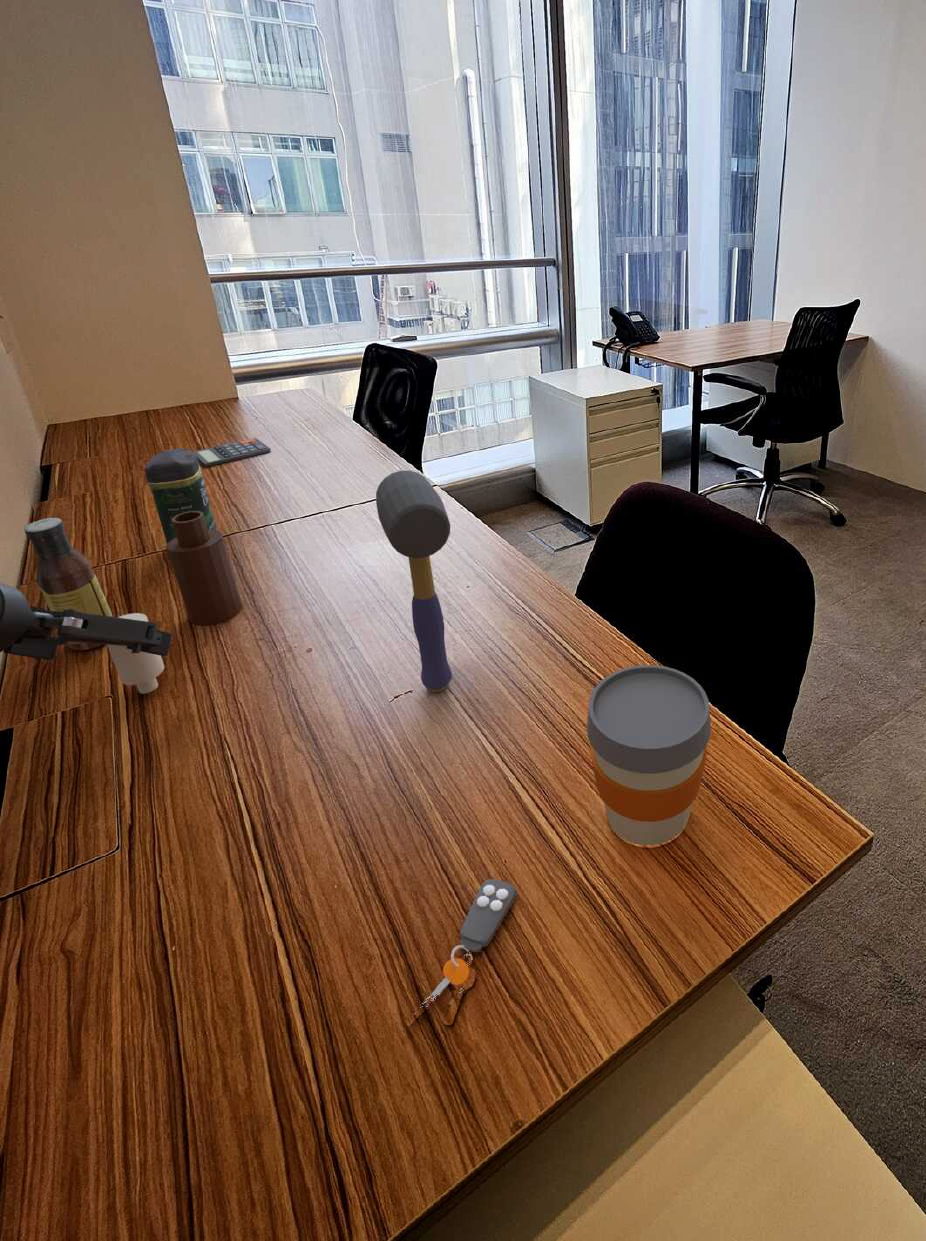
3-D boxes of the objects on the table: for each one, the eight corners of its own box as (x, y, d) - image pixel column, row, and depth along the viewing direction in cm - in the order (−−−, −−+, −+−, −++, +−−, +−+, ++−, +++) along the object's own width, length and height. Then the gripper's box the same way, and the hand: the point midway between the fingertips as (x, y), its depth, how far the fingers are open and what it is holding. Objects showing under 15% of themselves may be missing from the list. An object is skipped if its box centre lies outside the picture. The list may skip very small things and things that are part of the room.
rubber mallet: (476, 706, 88) (451, 497, 76) (418, 724, 85) (381, 510, 73) (455, 652, 98) (429, 461, 86) (402, 667, 95) (367, 471, 83)
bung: (118, 701, 89) (92, 635, 85) (140, 677, 93) (117, 613, 89) (156, 699, 89) (132, 634, 85) (176, 675, 94) (154, 612, 89)
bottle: (180, 626, 104) (147, 528, 97) (204, 600, 111) (175, 507, 104) (228, 624, 105) (199, 527, 98) (250, 599, 111) (224, 505, 104)
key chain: (484, 883, 66) (483, 873, 65) (519, 894, 65) (518, 883, 64) (405, 1028, 54) (403, 1017, 54) (446, 1043, 53) (444, 1032, 53)
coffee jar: (216, 553, 125) (189, 460, 118) (166, 561, 122) (135, 466, 115) (223, 531, 133) (198, 442, 126) (176, 538, 130) (148, 448, 123)
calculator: (270, 448, 173) (204, 463, 163) (271, 451, 173) (205, 466, 164) (255, 437, 181) (191, 451, 171) (256, 440, 181) (192, 454, 171)
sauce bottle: (89, 627, 104) (43, 511, 96) (129, 628, 104) (86, 512, 96) (54, 654, 98) (1, 532, 90) (96, 655, 98) (47, 533, 90)
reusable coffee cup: (724, 846, 69) (732, 734, 63) (605, 878, 66) (602, 764, 60) (682, 756, 80) (686, 654, 74) (579, 780, 77) (574, 675, 71)
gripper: (-198, 659, 63) (-4, 681, 82) (83, 649, 64) (207, 673, 84) (-167, 580, 65) (14, 620, 85) (102, 572, 67) (218, 613, 86)
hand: (110, 646), depth 84 cm, fingers open, 13 cm apart
